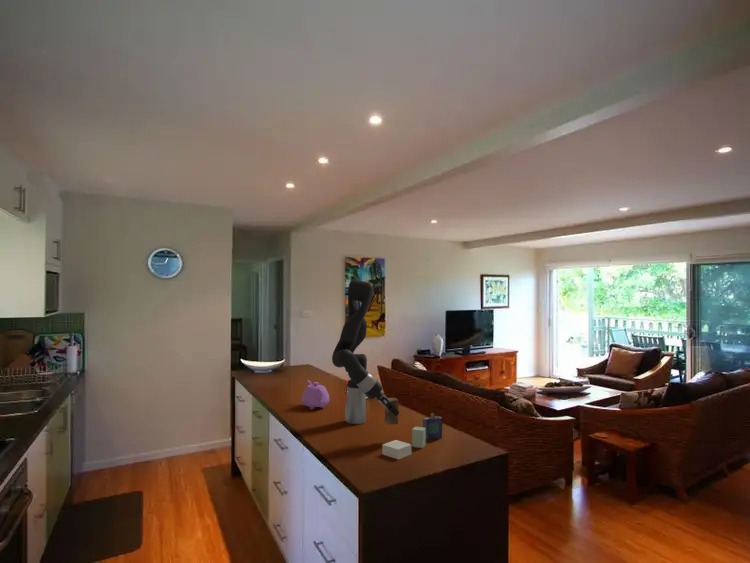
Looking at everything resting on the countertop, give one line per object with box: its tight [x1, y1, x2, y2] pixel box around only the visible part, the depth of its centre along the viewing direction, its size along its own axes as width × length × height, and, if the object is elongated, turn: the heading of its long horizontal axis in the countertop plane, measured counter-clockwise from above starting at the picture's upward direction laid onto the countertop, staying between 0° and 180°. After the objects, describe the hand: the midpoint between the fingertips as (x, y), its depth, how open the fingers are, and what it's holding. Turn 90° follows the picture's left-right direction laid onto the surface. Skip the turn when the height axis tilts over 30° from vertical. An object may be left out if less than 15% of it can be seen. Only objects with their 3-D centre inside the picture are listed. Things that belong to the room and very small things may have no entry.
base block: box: [381, 439, 412, 460], centre depth 164 cm, size 8×8×4 cm
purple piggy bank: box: [301, 379, 330, 410], centre depth 237 cm, size 22×16×14 cm
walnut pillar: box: [384, 397, 399, 425], centre depth 180 cm, size 4×4×10 cm
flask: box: [422, 412, 443, 441], centre depth 184 cm, size 9×3×11 cm, turn 109°
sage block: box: [411, 426, 427, 449], centre depth 174 cm, size 4×4×7 cm
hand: (395, 412), depth 180 cm, fingers closed on walnut pillar, 4 cm apart
